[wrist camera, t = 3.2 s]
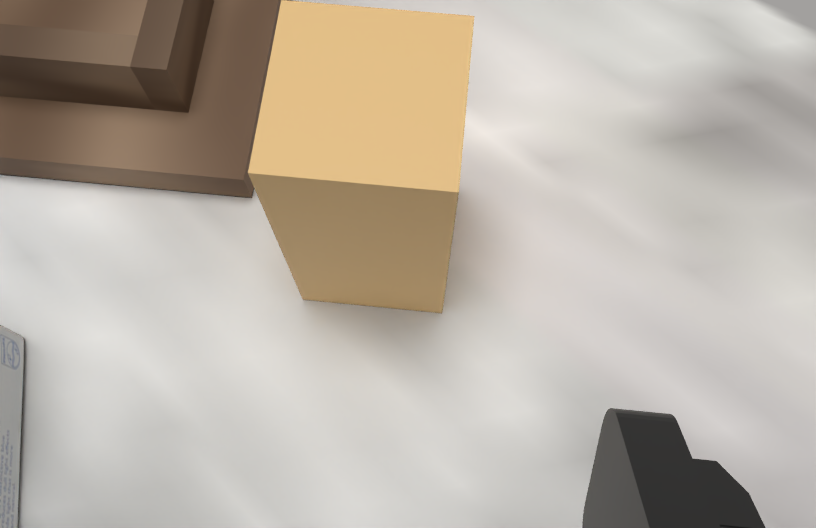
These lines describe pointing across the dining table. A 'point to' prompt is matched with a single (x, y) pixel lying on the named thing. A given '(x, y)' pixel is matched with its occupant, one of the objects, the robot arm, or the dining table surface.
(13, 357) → the light bulb box
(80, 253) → the dining table surface
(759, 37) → the dining table surface
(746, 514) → the robot arm
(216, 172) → the walnut dock
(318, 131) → the ochre post
